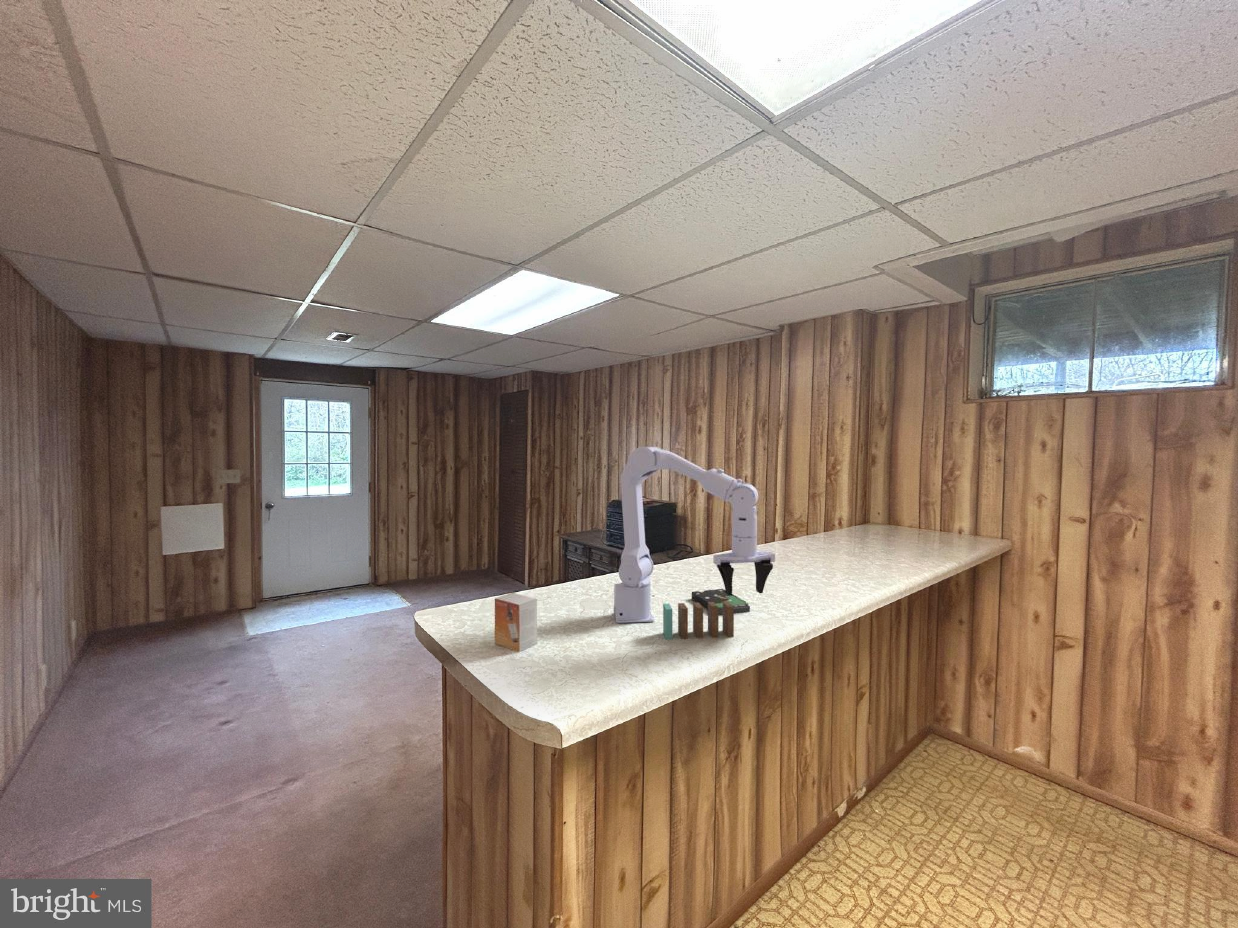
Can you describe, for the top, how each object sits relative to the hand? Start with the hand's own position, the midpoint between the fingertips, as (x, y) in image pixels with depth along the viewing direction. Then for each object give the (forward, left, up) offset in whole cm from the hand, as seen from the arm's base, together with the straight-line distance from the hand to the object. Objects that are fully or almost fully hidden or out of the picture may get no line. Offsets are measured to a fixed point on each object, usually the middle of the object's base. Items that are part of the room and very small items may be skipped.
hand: (744, 593), depth 117 cm
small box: (-53, -1, -10) cm, 54 cm away
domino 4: (-4, 0, -10) cm, 10 cm away
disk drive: (0, +20, -10) cm, 23 cm away
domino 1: (-15, 0, -10) cm, 17 cm away
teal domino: (-18, 0, -10) cm, 21 cm away
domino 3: (-7, 0, -10) cm, 12 cm away
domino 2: (-11, 0, -10) cm, 15 cm away
